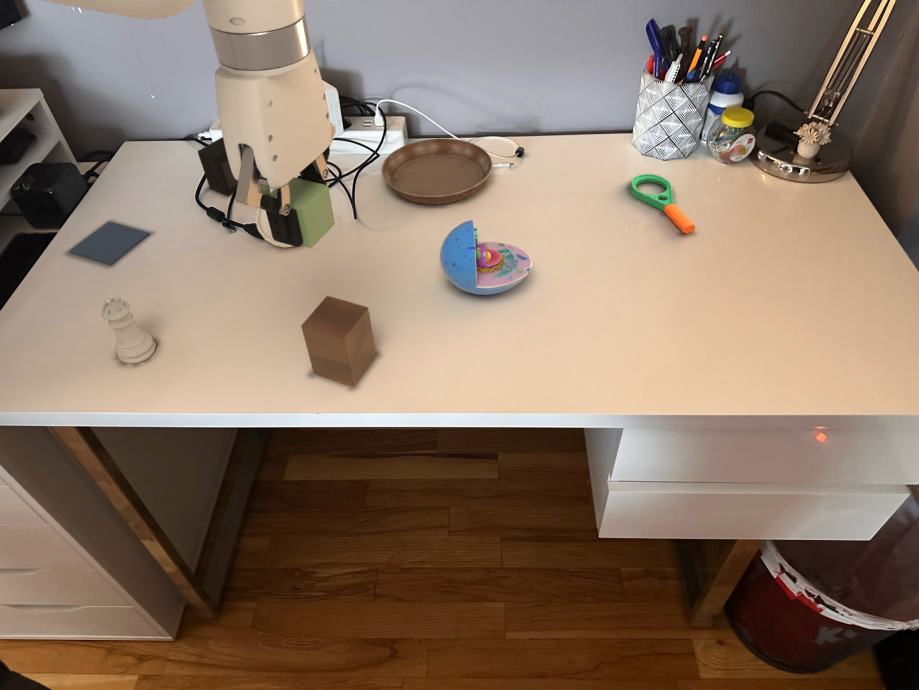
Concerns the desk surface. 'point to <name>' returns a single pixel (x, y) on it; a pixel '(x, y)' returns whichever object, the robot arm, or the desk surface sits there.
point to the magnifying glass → (658, 202)
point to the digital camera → (218, 168)
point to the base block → (339, 340)
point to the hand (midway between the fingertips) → (303, 226)
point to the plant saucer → (437, 170)
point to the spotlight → (266, 227)
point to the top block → (310, 209)
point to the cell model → (481, 262)
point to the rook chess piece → (127, 332)
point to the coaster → (109, 243)
